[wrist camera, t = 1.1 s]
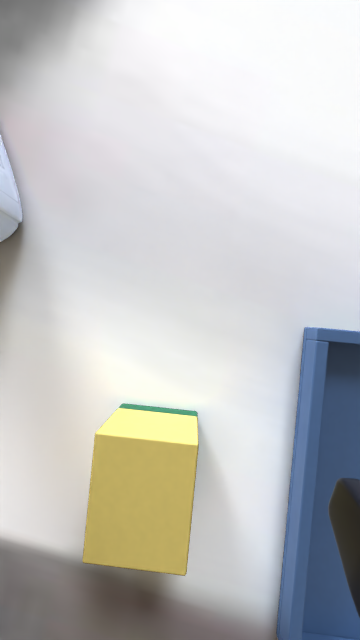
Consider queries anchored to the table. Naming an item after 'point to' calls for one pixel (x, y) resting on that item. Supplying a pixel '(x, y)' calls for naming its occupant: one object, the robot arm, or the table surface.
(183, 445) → the sponge
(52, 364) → the table surface
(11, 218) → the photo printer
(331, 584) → the blue tray
